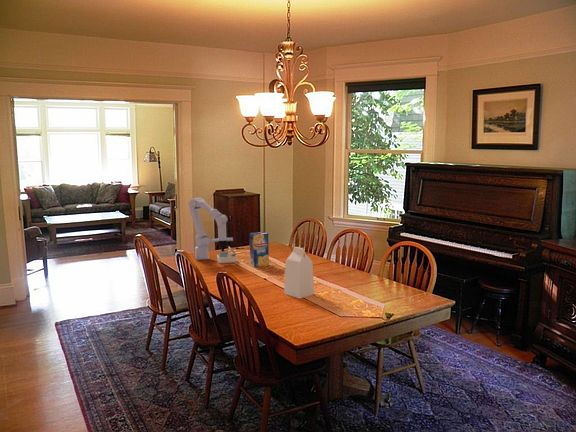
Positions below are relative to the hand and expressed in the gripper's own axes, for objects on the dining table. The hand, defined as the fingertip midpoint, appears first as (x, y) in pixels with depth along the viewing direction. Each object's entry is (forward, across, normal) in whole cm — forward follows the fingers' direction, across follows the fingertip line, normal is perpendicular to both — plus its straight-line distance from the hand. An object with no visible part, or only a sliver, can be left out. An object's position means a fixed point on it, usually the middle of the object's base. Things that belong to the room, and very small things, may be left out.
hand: (222, 251), depth 336 cm
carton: (+7, +2, 0) cm, 8 cm away
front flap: (0, 0, -7) cm, 7 cm away
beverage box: (+8, +22, -18) cm, 29 cm away
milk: (+8, +28, -86) cm, 91 cm away
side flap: (0, +6, 0) cm, 6 cm away
